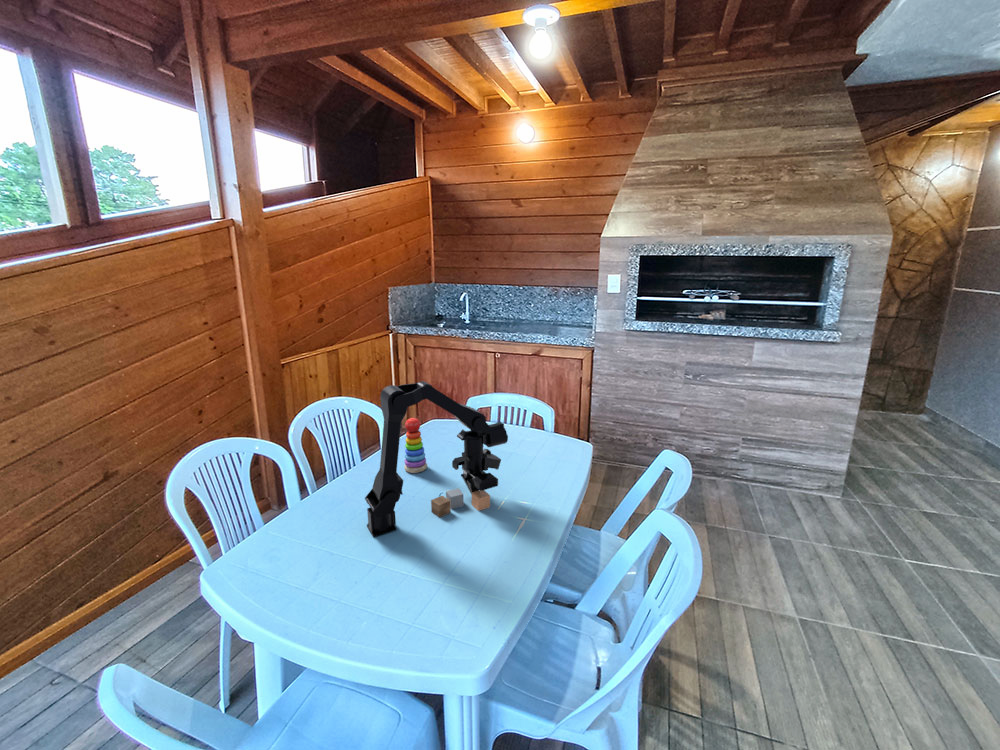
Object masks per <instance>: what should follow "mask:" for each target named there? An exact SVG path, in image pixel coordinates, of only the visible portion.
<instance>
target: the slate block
mask: <svg viewBox="0 0 1000 750" xmlns="http://www.w3.org/2000/svg"><path fill="white" fill-rule="evenodd" d="M445 498H447V499H448V500H450V508H451V510H453V509H457V508H460V507H464V505H465V504H464V493H463V492H462V490H461V489H460V488H454V489H450V490H446V491H445Z"/></svg>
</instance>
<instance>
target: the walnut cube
mask: <svg viewBox="0 0 1000 750" xmlns="http://www.w3.org/2000/svg"><path fill="white" fill-rule="evenodd" d="M430 506H431V507H430V508H431V513H432V514H434V515H435V516H436V517H438V518H441V517H444V516H446V515H449V514H451V510H452V509H451V508H450V500H448V499H447V498H446V496H443V495H440V496H438V497H434V498H433V499H431V500H430Z"/></svg>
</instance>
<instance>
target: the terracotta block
mask: <svg viewBox="0 0 1000 750" xmlns="http://www.w3.org/2000/svg"><path fill="white" fill-rule="evenodd" d="M471 505H472V507H473V508H475V509H476V510H477V511H483V510H485V509H488V508H491V494H489V493H488V492H487V491H486V490H483V491H481V490H479V491H476V492H473V493H472V495H471Z"/></svg>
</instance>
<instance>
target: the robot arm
mask: <svg viewBox="0 0 1000 750" xmlns="http://www.w3.org/2000/svg"><path fill="white" fill-rule="evenodd" d="M379 395H380V407H381V411H382V416H383V427H382V428H383V429H382V439H381V451H380V465H379V470H378V472H377V473H376V475H375V476H374V480H373V484H372V488H371V489H370V490H369V492H368V493H367V494H366V495H365V497H364V500H365V501H366V503H367V505H368V506H369V507H368V508H366V509H367V524H366V527H367V529H368V530H369V532H370V533H371V535H372V537H374V538H375V537H378V536H379V537H380V536H381V535H385V534H388V533H391V532H394V531H395V532H396V531H397V527H396V524H397V520H396V519H397V518H396V511H395V509H396V504H397V502H399V501H400V499H401V498H400V497H401V496H402V495H403V494H404V493H403V485H404V479H403V478H402V477H401V475H399V474H398V470H397V469H398V462H399V461H398V460H399V449H400V440H401V439H400V438H401V427H402V422H403V420H404V418H405V417H406V415H407V412H408V408H409V407H411V406H415V405H417V404H419V403H420V402H421V401H424V400H428V401H429V402H431V403H433V404H435V405H436V406H438V407H439V408H441V409H443V410H445V411H446V412H447V413H449V414H451V415H452V416H454V418H455V419H456V420H457V421H458V422H459V423H460V424H462V425H463V426H464V427H466V428H467V429H469V430H464V429H461V431H460V432H459V433H457V435H456V437H457V438H458V439H460V440H461V441H462V442H463V452H461V456H459V457H455V458H454V459H453V460H452V463H451V466H452V468H453V469H454V470H455V471H457V470H459V469H460V468H459V467H460V466H461V468H462V469H461V470H462V473H461V474H460V477H461V478H462V480H463V481H464V484H465V486H466V487H467V489H468V491H469V493H470V495H471V496H472V493H473V492H476V491H480V490H481V491H483V490H485V491H486V490H489V489H493V488H496V487H499V486H498V485H499V479H498V478H497V477H496V476H495V475H493V474H492V473H491V472H487V471H489V469H495V470H496V471H497V470H499V468H500V465H501V461H502V459H501V458H500V457H498V456H497V455H495V454H493V453H492V452H491V450H489V449H488V448H492V447H495V446H501V445H505V444H507V442H508V441H509V439H508V438H509V435H508V433H507V430H506V428H505V424H504V422H502V421H497V422H496V423H491V424H488V423H487V418H486V415H484V413H482V412H480V411H478V410H477V409H475V408H474V407H471V406H468V405H465V404H463V403H459V402H457V401H455V400H454V399H452V398H451V397H449V396H447V395H446V394H445V393H443V392H441V391H439V390H438V389H436V388H434V387H433V385H432V384H430V383H428V382H427V381H424V380H423V381H422V380H421V381H418V382H414V383H413V382H412V383H406V384H400V385H393V384H392V385H390V384H389V385H387V386H385V387H384V388H383V389H382V390H381V391H380V394H379ZM484 445H485V446H486V447H487V448H484Z"/></svg>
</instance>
